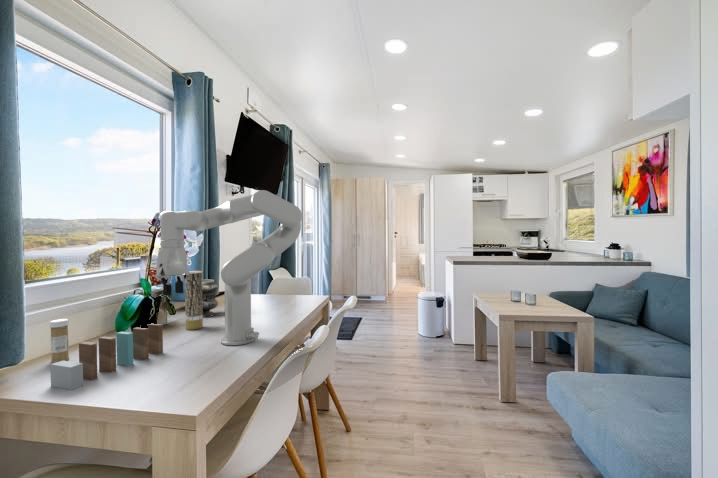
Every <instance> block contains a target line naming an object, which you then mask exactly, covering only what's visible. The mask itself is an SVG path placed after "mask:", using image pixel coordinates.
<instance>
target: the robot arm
mask: <svg viewBox="0 0 718 478" xmlns="http://www.w3.org/2000/svg"><path fill="white" fill-rule="evenodd" d="M159 216H160V220H159V221H160V248H159V249H158V251H157V257H156V274H155V275H154V278H155V279H157V280H158V281H159V282H160V284H161V285H162V287H163V288H162V290H163V295H166V296H167V297H168V296H169V297H170V296H172V284H171V280H172V277H173V276H174V277H175V280H176V281H175V283H174V287H175V289H174V290H175V293H176V294H184V283H185V278H186V277H187V275H188V274H189V273H190V272H189V271H190V270H189V269H188V258H187V251H186V248H185V245H186V242H185V233H184V232H185V231H190V232H191V231H193V232H202V231H205V230H211V229H213V228H216V227H220V226H224V225H228V224H233V223H237V222H242V221H245V220H248V219H251V218H252V219H253V218H256V217H259V216H260V217H261V216H266V217H268V218H269V219H272V220H273V221H276V222H278V223H279V226H278V227H277V229H275V230H273V232H272V233H270V234H269V235H267V236H266V237H264V238H263V239H262V240H260V241H257V242H255V243H253V244H251V245H250V246H249V247H246V249H244V250H243V251H241V252H240V253H239V254H238V255H236V256H234V257H232V258H231V259H230V260H229V261H227V262H226V263H225V264H224V265H223V266H222V268H221V271H220V277H221V281H222V282H223V283H224V335H225V336H223V337H222V338H221V339H220V343H221V345H224V346H240V345H246V344H250V343H252V342H254V341H255V340H256V339H258V338H259V336H260V332H259V331H255V328H254V327H252V303H251V302H252V294H251V293H252V291H251V290H252V289H251V288H252V286H251V285H252V284H251V283H252V282H251V281H252V278H253V277H255V276H257V274H259V273H260V272H262V271H264V270H265V269H266V268H267V267H268V266H269V265H270V264H272V262H273V260H274V259H275V258H277V257H278V256H279V255H281V254H282V253H284V252H285V251H286V250H287V249H288V248H290V247H291V246H292V245H293V244H294V243H295V242H296V241H297V239H298V238H299V236H300V234H301V230H302V220H303V213H302V211H301V208H299V207H298V206H297V205H295V204H293V203H292V202H290V201H287V200H286V199H284V198H281V196H280V197H279V196H277V195H276V194H274V193H272V192H270V191H269V190H266V189H265V190H262V189H260V190H258V191H255V193H253V194H250V195H246V196H242V197H238V198H233V199H230V200H228V201H225V202H224V203H223V204H221V205H219V206H216V207H212V208H209V209H205V210H202V211H201V210H200V211H199V210H192V209H191V210H183V211H177V210H165V211H162V212H161V213H160V215H159Z"/></svg>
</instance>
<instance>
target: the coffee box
mask: <svg viewBox="0 0 718 478" xmlns="http://www.w3.org/2000/svg"><path fill="white" fill-rule="evenodd" d="M151 290H152V292H150V294H151V296H152V297H154V298H156V297H158V296H159V295H160V294H163V289H151ZM143 292H144V291H141V292H139V295H140V294H143ZM167 298H168V296H167V297H162V298H161V304H160V309H159V315H158V320H157V324H162V326H164V325H167V324H168V303H167V300H168V299H167Z"/></svg>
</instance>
